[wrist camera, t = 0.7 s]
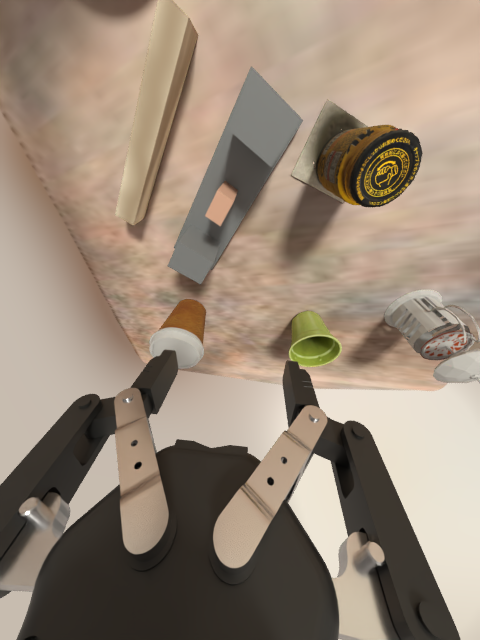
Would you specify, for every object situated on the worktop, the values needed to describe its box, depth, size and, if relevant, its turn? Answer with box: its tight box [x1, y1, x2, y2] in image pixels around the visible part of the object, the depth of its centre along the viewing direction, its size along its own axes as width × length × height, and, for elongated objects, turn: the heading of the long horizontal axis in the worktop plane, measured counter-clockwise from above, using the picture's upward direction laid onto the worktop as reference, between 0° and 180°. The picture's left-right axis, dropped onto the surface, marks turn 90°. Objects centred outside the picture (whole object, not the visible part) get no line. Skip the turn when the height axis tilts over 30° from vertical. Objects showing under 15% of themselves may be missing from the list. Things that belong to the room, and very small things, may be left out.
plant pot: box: [289, 311, 342, 367], centre depth 40 cm, size 9×9×9 cm
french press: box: [384, 290, 480, 383], centre depth 30 cm, size 10×12×25 cm
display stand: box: [168, 67, 303, 284], centre depth 25 cm, size 7×22×8 cm, turn 147°
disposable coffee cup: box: [150, 299, 206, 369], centre depth 39 cm, size 10×10×12 cm
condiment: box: [292, 99, 422, 207], centre depth 21 cm, size 7×8×12 cm
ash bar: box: [115, 0, 198, 226], centre depth 24 cm, size 2×20×4 cm, turn 147°
